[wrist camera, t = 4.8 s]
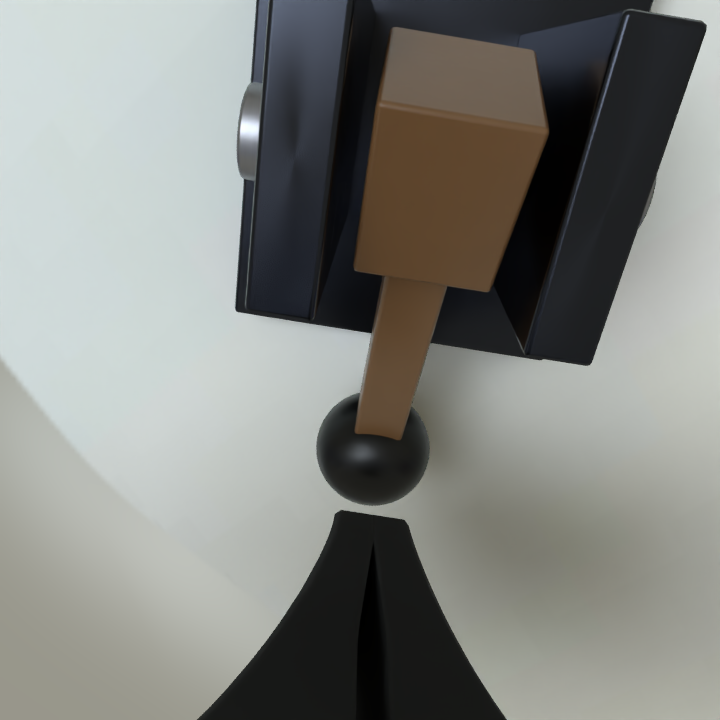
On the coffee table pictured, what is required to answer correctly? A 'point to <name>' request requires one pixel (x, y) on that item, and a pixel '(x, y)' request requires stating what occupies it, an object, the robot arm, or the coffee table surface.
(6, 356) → the coffee table surface
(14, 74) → the coffee table surface
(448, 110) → the lever
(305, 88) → the bracket
